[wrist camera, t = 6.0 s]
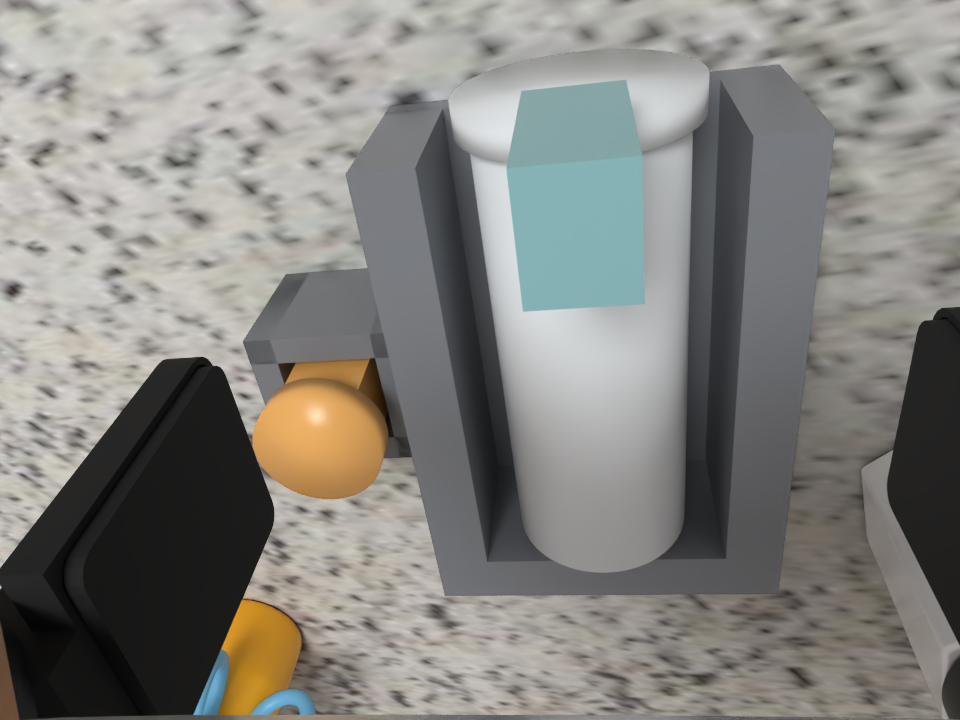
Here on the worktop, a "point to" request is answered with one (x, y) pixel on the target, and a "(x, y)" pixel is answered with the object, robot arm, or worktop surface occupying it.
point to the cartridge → (590, 288)
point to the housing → (475, 362)
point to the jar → (911, 592)
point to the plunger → (325, 429)
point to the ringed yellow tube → (256, 666)
